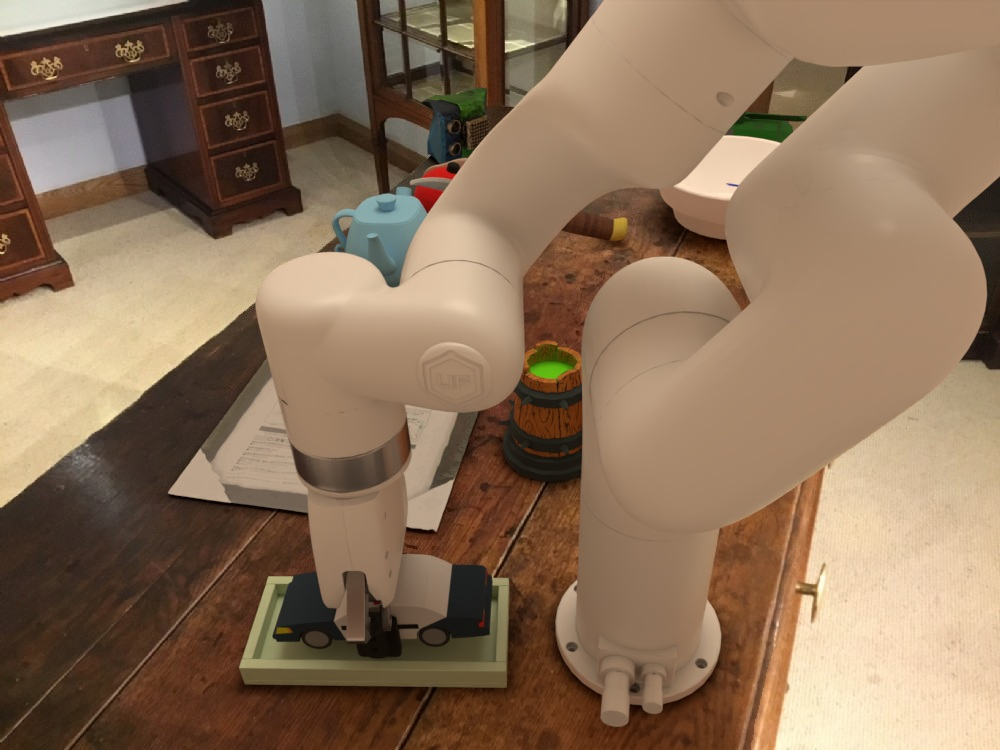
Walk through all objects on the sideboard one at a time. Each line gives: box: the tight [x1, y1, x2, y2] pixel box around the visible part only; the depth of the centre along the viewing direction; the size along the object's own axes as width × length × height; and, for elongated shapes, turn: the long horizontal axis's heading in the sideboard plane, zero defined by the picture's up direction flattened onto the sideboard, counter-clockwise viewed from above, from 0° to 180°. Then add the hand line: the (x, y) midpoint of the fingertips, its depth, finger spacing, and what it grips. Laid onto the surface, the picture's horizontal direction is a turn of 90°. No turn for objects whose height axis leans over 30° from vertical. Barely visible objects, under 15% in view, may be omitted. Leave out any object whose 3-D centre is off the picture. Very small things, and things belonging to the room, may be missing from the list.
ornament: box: [413, 162, 460, 214], centre depth 120 cm, size 9×9×10 cm
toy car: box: [272, 553, 493, 649], centre depth 64 cm, size 5×16×5 cm, turn 88°
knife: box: [409, 177, 628, 242], centre depth 114 cm, size 5×4×30 cm
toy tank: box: [724, 111, 808, 143], centre depth 136 cm, size 16×23×10 cm
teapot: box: [331, 186, 427, 288], centre depth 109 cm, size 15×14×11 cm
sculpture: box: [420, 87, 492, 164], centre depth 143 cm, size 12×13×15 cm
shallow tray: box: [238, 575, 510, 689], centre depth 66 cm, size 9×20×2 cm, turn 88°
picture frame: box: [167, 357, 480, 532], centre depth 89 cm, size 26×1×30 cm
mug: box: [498, 339, 583, 483], centre depth 80 cm, size 13×10×12 cm
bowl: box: [658, 135, 781, 240], centre depth 120 cm, size 22×22×8 cm
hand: (386, 618), depth 65 cm, fingers closed on toy car, 5 cm apart
